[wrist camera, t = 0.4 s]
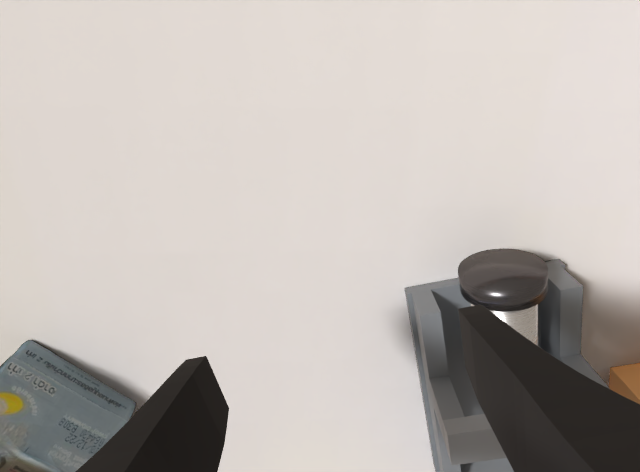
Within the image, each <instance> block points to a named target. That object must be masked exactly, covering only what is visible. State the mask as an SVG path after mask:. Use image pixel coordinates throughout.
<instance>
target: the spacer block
mask: <svg viewBox="0 0 640 472" xmlns="http://www.w3.org/2000/svg"><path fill="white" fill-rule="evenodd" d="M609 388H610V389H611V390H612V391H614V392H616V393H618V394H620V395H622V396H624V397H626V398H628V399H630V400H632V401H634V402H636V403H638V404H640V363H636V364H629V365H623V366H617V367H611V368H610V378H609Z"/></svg>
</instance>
